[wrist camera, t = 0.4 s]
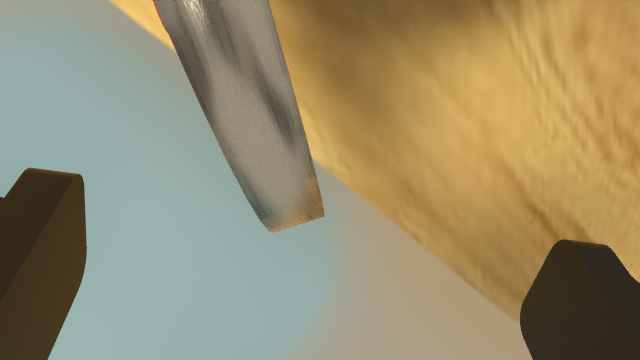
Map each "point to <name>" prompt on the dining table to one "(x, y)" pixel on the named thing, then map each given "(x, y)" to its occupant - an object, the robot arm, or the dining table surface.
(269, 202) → the lid
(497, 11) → the dining table surface
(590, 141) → the dining table surface
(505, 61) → the dining table surface
